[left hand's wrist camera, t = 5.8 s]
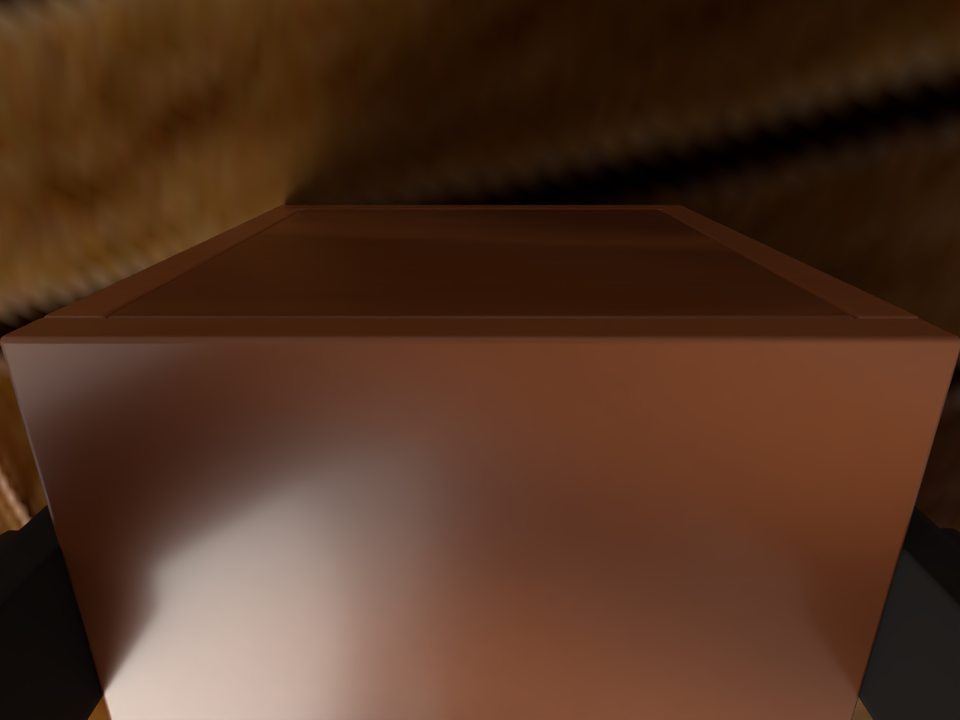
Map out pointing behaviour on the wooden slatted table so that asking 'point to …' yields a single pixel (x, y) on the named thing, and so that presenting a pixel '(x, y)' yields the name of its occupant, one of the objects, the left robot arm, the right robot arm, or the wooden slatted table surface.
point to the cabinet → (480, 468)
